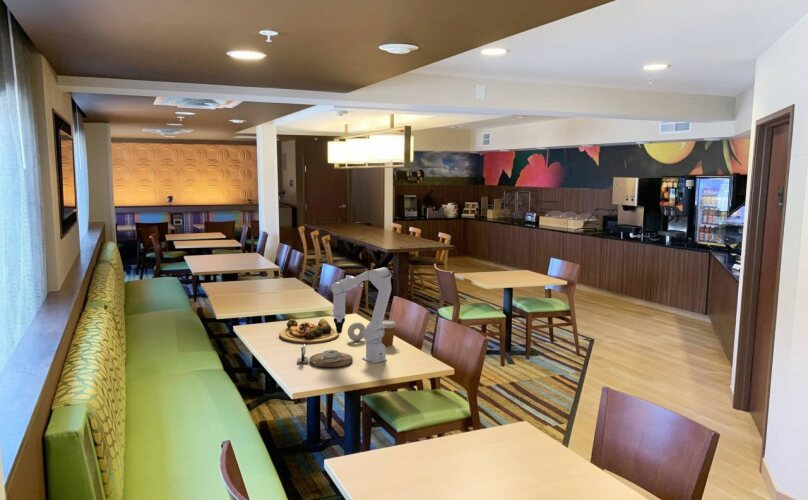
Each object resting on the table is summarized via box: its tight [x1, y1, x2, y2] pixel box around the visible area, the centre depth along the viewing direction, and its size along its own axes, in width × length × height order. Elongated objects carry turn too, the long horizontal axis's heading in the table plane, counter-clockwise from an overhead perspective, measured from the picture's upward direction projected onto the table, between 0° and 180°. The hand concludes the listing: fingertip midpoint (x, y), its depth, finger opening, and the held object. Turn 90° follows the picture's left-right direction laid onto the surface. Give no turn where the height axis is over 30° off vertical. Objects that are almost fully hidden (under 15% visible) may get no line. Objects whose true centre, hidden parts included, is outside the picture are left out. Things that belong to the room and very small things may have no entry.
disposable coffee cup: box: [381, 319, 397, 347], centre depth 302 cm, size 10×10×12 cm
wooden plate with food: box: [278, 318, 340, 345], centre depth 317 cm, size 32×32×8 cm
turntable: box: [309, 351, 354, 368], centre depth 273 cm, size 20×20×1 cm
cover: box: [322, 349, 339, 361], centre depth 273 cm, size 7×7×3 cm
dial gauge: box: [296, 344, 310, 365], centre depth 271 cm, size 5×5×8 cm
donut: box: [347, 321, 366, 342], centre depth 308 cm, size 10×4×10 cm, turn 113°
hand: (339, 332), depth 288 cm, fingers closed
